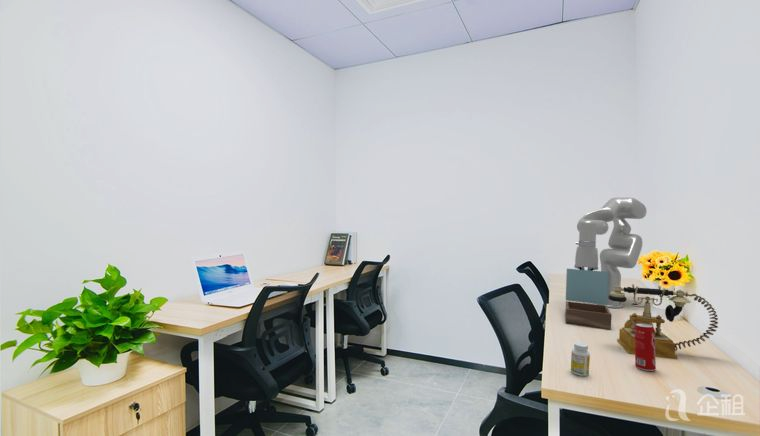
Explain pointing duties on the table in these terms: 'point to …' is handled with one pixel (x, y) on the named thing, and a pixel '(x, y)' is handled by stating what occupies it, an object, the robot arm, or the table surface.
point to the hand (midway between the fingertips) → (585, 280)
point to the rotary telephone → (657, 319)
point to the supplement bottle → (580, 359)
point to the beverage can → (645, 346)
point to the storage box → (588, 315)
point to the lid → (587, 286)
